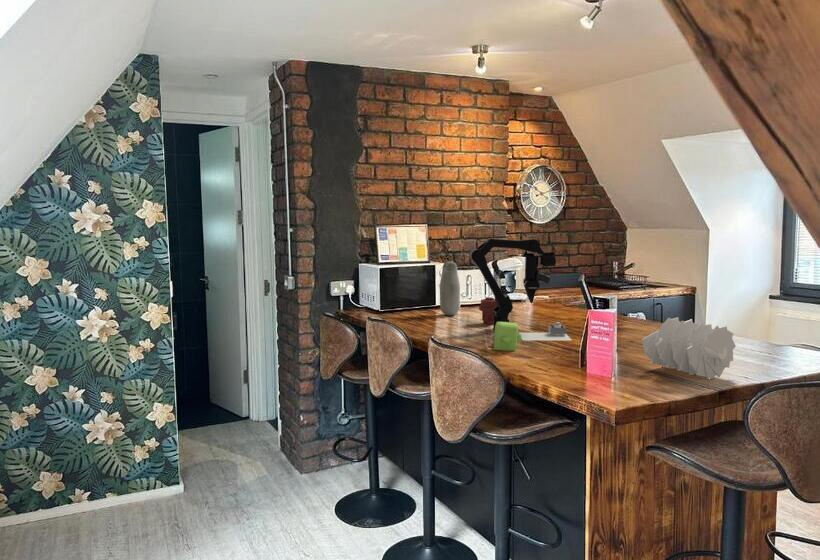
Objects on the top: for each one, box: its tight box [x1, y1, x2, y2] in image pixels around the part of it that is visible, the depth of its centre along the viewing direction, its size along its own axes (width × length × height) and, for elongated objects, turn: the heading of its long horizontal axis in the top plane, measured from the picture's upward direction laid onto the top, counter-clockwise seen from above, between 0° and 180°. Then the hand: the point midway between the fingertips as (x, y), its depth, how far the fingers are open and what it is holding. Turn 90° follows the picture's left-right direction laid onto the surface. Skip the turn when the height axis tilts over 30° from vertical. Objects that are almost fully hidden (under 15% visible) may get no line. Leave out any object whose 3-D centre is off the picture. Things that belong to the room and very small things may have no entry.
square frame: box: [547, 324, 567, 334], centre depth 277 cm, size 7×7×2 cm
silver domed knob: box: [550, 321, 565, 336], centre depth 277 cm, size 6×6×5 cm
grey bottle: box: [439, 260, 461, 317], centre depth 334 cm, size 10×10×28 cm
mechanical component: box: [478, 296, 497, 326], centre depth 309 cm, size 12×10×10 cm
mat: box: [518, 332, 573, 342], centre depth 273 cm, size 20×17×1 cm
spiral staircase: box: [641, 317, 737, 380], centre depth 210 cm, size 18×18×25 cm
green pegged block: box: [493, 321, 522, 352], centre depth 252 cm, size 18×10×10 cm, turn 168°
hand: (530, 301), depth 292 cm, fingers open, 9 cm apart
